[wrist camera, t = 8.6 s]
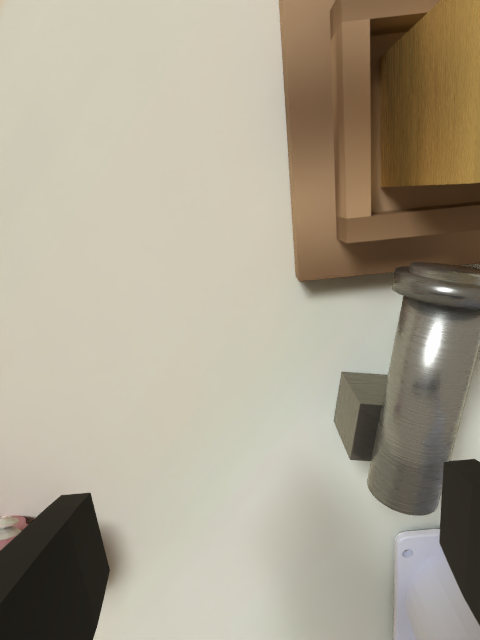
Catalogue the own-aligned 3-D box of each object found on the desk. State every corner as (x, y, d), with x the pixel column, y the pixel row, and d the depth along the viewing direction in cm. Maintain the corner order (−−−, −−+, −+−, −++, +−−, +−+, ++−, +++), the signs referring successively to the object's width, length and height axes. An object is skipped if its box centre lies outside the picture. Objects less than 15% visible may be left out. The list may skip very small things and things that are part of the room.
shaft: (361, 248, 16) (422, 275, 11) (441, 254, 16) (541, 284, 11) (332, 426, 19) (371, 521, 13) (402, 431, 19) (469, 527, 13)
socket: (548, 250, 16) (602, 260, 14) (295, 276, 17) (305, 290, 14) (586, -59, 13) (662, -114, 11) (277, -23, 14) (286, -69, 11)
